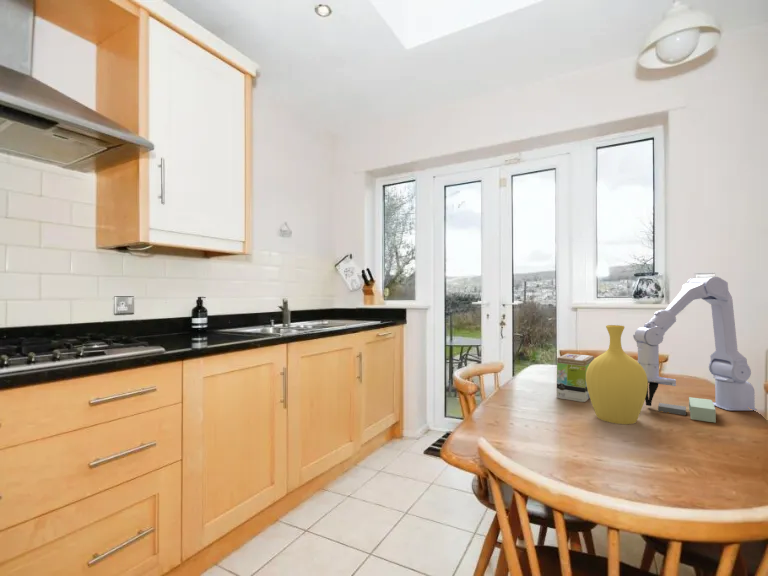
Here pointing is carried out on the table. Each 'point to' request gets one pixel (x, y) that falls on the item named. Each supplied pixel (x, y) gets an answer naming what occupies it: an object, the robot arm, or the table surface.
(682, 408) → the gray block
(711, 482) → the table surface
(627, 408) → the vase
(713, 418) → the pale green block
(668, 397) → the table surface
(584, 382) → the tea box
